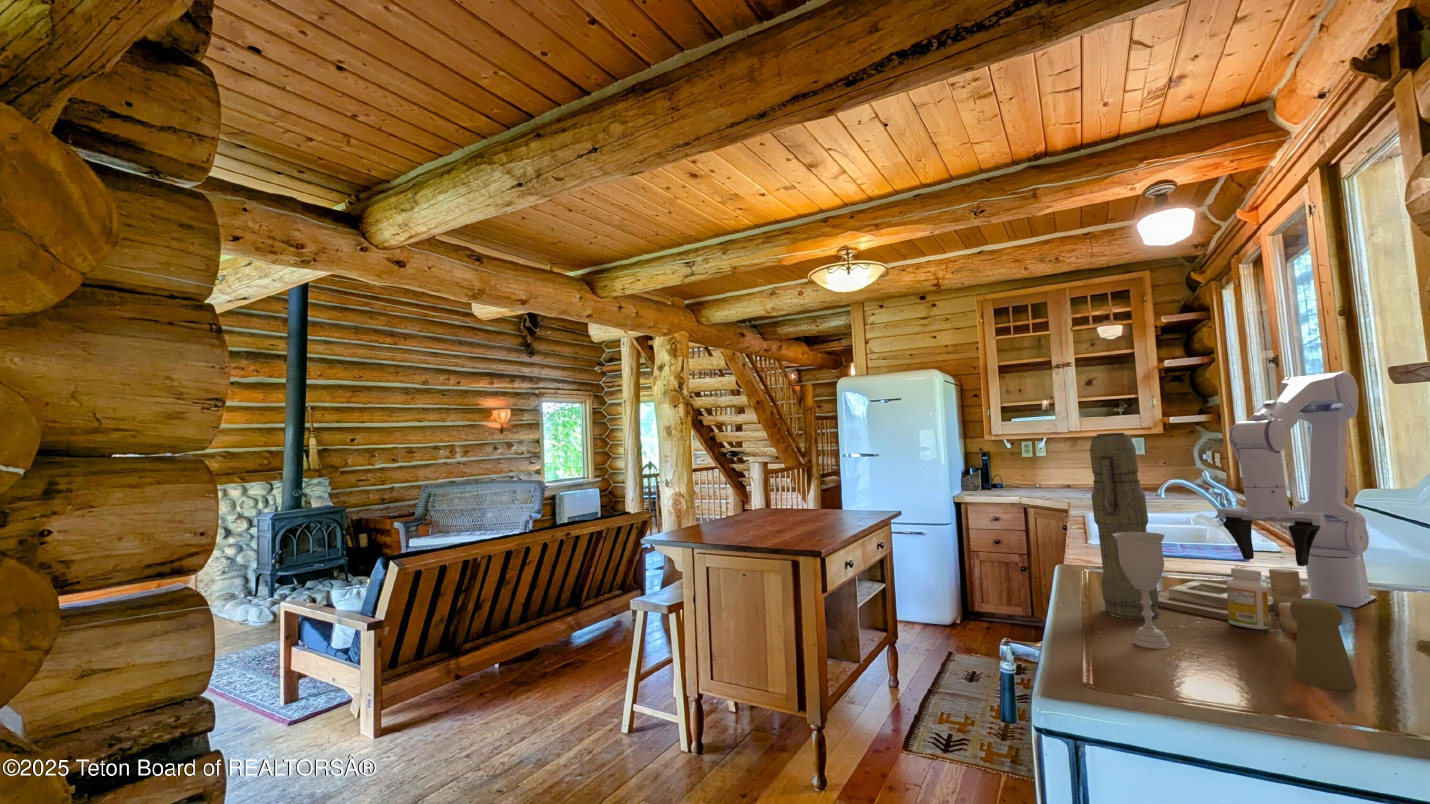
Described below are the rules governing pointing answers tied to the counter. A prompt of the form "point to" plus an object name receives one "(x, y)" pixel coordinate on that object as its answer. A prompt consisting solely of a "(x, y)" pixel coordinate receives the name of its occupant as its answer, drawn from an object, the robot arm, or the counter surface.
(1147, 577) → the chalice
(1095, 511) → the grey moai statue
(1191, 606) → the collar board
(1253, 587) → the supplement bottle
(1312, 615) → the olive tapered capped post
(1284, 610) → the short oak dowel
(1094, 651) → the counter surface
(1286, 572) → the long oak dowel
